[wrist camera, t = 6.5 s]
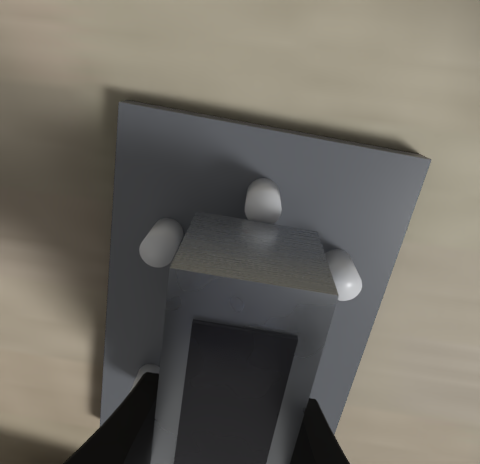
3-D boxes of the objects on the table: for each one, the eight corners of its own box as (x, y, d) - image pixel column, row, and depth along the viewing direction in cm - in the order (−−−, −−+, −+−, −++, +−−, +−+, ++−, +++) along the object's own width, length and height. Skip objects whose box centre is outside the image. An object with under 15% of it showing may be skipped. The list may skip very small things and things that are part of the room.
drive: (317, 231, 13) (339, 298, 9) (267, 430, 17) (268, 540, 13) (196, 211, 13) (168, 270, 9) (171, 415, 16) (143, 520, 13)
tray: (421, 154, 15) (454, 171, 12) (316, 459, 21) (324, 514, 18) (127, 100, 15) (99, 105, 12) (106, 422, 21) (83, 472, 18)
